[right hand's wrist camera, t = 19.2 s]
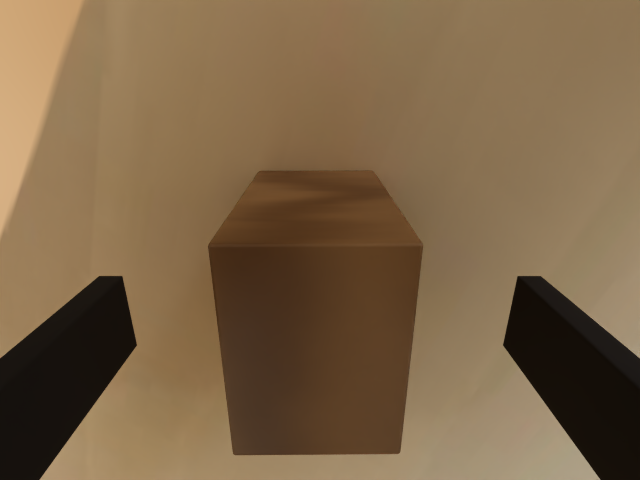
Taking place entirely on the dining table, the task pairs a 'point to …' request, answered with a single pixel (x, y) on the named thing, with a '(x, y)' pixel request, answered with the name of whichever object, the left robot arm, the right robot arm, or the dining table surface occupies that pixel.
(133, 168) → the dining table surface
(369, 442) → the brick
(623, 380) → the right robot arm
